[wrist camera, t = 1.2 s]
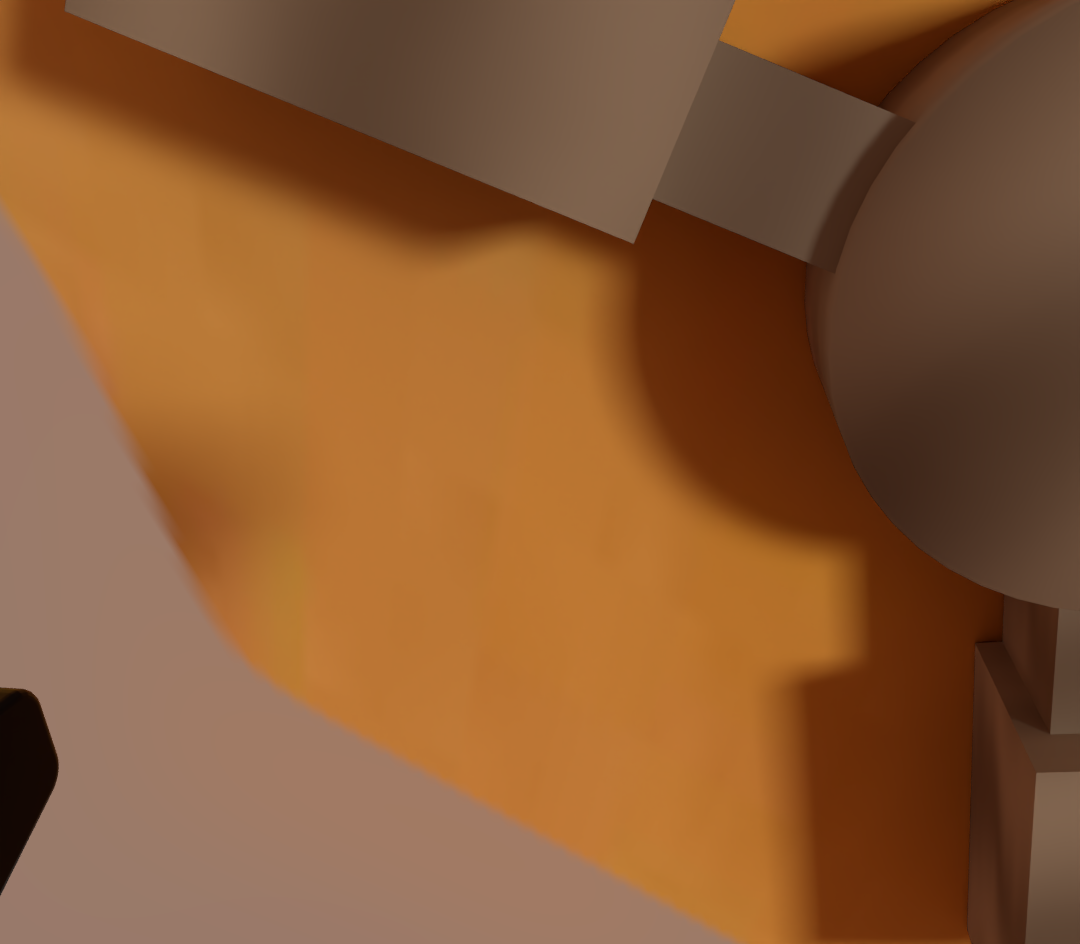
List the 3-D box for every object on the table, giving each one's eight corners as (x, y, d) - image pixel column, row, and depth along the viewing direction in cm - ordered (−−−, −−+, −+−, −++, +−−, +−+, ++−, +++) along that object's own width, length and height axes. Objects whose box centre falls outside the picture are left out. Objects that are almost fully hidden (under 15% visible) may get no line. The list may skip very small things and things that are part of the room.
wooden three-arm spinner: (1670, 750, 19) (1893, 914, 16) (962, 979, 25) (1009, 1138, 21) (929, -1010, 11) (1044, -1503, 8) (120, -78, 17) (-33, -105, 13)
